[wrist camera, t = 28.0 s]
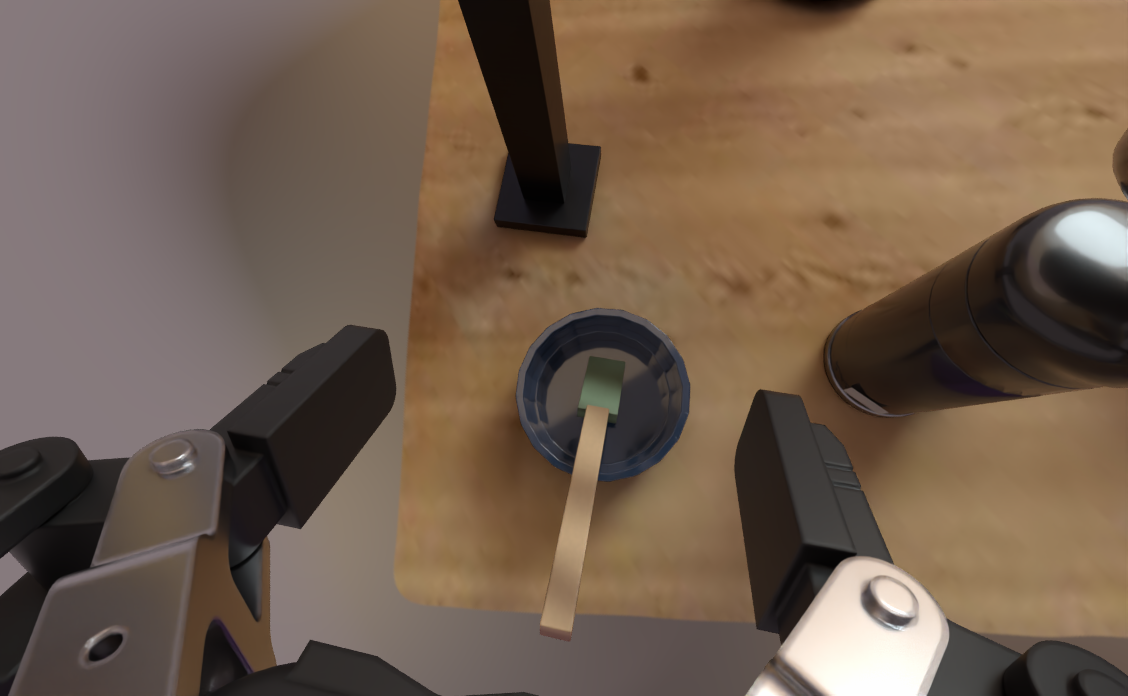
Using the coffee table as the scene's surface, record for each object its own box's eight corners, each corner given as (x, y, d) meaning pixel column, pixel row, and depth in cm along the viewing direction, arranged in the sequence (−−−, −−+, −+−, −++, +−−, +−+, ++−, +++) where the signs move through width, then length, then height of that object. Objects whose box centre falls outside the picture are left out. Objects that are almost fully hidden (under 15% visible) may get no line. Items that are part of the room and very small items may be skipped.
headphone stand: (582, 261, 46) (532, -99, 16) (491, 250, 47) (287, -108, 17) (605, 133, 49) (598, -379, 19) (519, 125, 50) (384, -371, 20)
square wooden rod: (582, 645, 28) (584, 635, 26) (527, 632, 28) (527, 622, 27) (624, 370, 43) (626, 356, 42) (588, 364, 44) (590, 350, 42)
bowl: (627, 303, 45) (630, 278, 39) (707, 427, 42) (725, 422, 36) (504, 375, 45) (486, 362, 38) (576, 506, 42) (570, 515, 35)
